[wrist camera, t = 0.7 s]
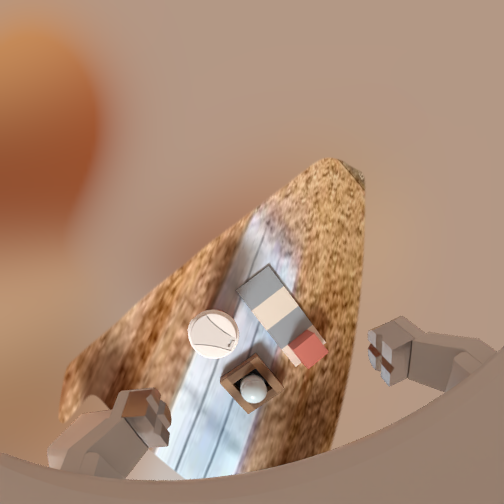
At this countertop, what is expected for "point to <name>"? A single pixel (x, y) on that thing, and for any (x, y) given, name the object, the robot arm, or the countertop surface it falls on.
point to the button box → (243, 370)
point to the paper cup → (213, 334)
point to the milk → (73, 436)
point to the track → (276, 310)
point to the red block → (308, 348)
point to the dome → (253, 388)
